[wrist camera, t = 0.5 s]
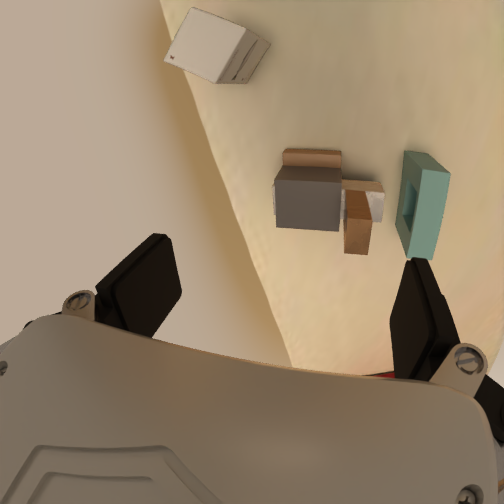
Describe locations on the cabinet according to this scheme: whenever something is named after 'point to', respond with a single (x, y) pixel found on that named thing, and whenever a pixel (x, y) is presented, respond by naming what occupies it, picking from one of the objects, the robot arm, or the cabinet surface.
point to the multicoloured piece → (358, 212)
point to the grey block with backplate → (309, 190)
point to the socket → (421, 204)
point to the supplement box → (215, 48)
